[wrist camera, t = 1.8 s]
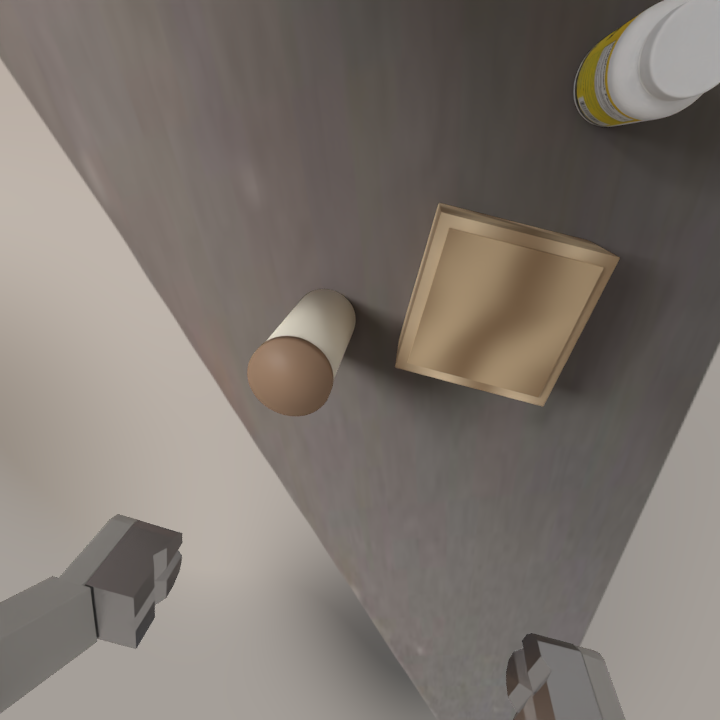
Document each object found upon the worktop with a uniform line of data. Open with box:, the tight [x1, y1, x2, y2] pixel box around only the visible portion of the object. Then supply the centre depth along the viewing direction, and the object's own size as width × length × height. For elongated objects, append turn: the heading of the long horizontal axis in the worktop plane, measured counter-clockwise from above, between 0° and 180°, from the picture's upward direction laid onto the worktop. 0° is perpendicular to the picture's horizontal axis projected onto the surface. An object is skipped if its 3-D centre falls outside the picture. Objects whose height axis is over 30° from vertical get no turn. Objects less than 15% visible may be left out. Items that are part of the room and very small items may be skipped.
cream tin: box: [247, 289, 356, 416], centre depth 33 cm, size 6×6×12 cm
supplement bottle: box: [574, 0, 720, 127], centre depth 24 cm, size 5×5×10 cm
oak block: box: [395, 203, 620, 406], centre depth 33 cm, size 12×12×6 cm
